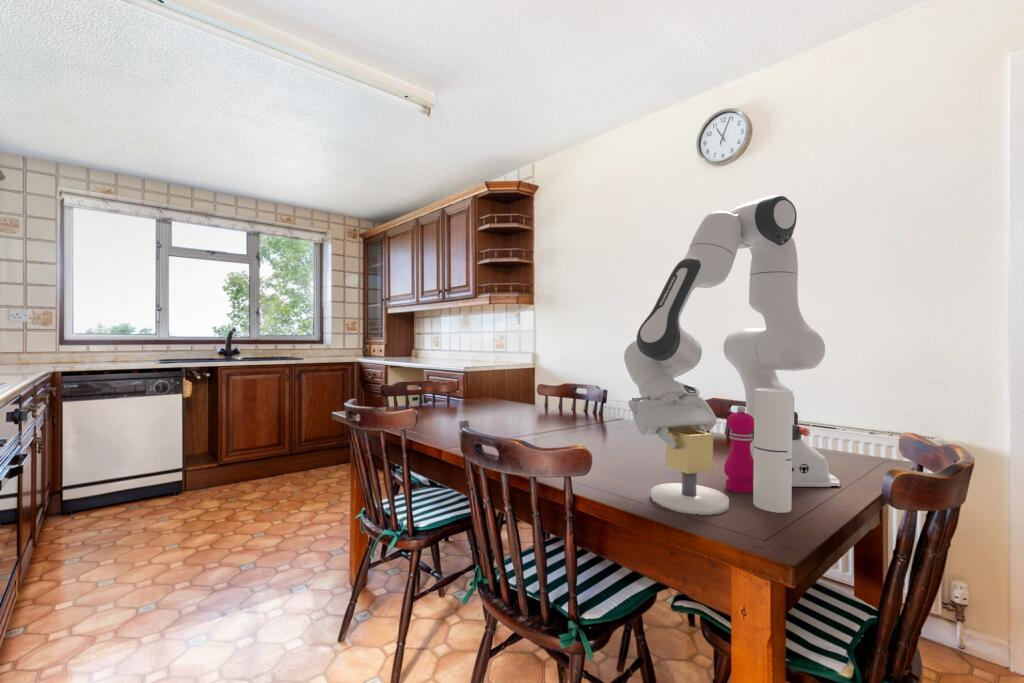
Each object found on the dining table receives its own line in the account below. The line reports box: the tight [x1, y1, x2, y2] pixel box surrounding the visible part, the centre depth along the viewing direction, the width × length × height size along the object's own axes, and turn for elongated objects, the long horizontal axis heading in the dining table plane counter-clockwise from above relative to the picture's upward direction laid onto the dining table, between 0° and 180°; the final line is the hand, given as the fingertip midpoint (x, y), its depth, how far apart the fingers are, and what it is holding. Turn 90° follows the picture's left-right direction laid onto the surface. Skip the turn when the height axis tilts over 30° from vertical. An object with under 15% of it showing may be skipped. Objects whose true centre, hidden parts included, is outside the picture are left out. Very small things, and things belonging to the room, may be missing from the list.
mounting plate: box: [650, 472, 730, 516], centre depth 102 cm, size 16×16×8 cm
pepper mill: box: [723, 405, 754, 494], centre depth 110 cm, size 7×7×20 cm
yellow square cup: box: [665, 428, 714, 474], centre depth 102 cm, size 7×7×8 cm
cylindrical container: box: [752, 388, 794, 514], centre depth 99 cm, size 7×7×25 cm
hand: (691, 446), depth 101 cm, fingers closed on yellow square cup, 7 cm apart
